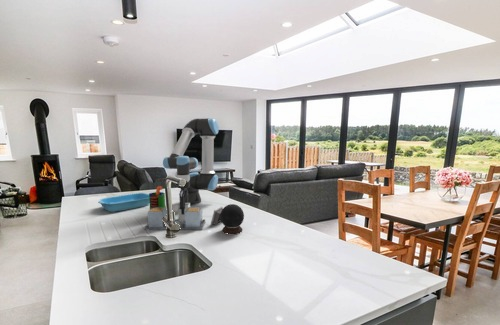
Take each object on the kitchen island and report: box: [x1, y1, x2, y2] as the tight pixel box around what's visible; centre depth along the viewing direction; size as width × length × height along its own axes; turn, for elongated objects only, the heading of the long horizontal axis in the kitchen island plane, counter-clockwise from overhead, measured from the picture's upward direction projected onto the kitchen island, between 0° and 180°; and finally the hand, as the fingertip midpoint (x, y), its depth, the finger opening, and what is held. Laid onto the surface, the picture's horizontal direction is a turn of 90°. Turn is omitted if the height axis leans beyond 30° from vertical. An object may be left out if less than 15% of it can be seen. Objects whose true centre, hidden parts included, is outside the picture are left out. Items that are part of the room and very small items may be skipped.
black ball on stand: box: [220, 203, 245, 235], centre depth 146 cm, size 13×13×15 cm
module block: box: [177, 202, 191, 221], centre depth 165 cm, size 6×6×11 cm
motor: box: [148, 185, 166, 210], centre depth 168 cm, size 10×9×20 cm
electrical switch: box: [210, 206, 224, 226], centre depth 159 cm, size 9×5×9 cm, turn 157°
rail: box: [144, 206, 206, 231], centre depth 153 cm, size 11×32×11 cm, turn 91°
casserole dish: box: [98, 192, 150, 213], centre depth 193 cm, size 37×22×7 cm, turn 136°
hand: (184, 217), depth 165 cm, fingers closed on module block, 6 cm apart
